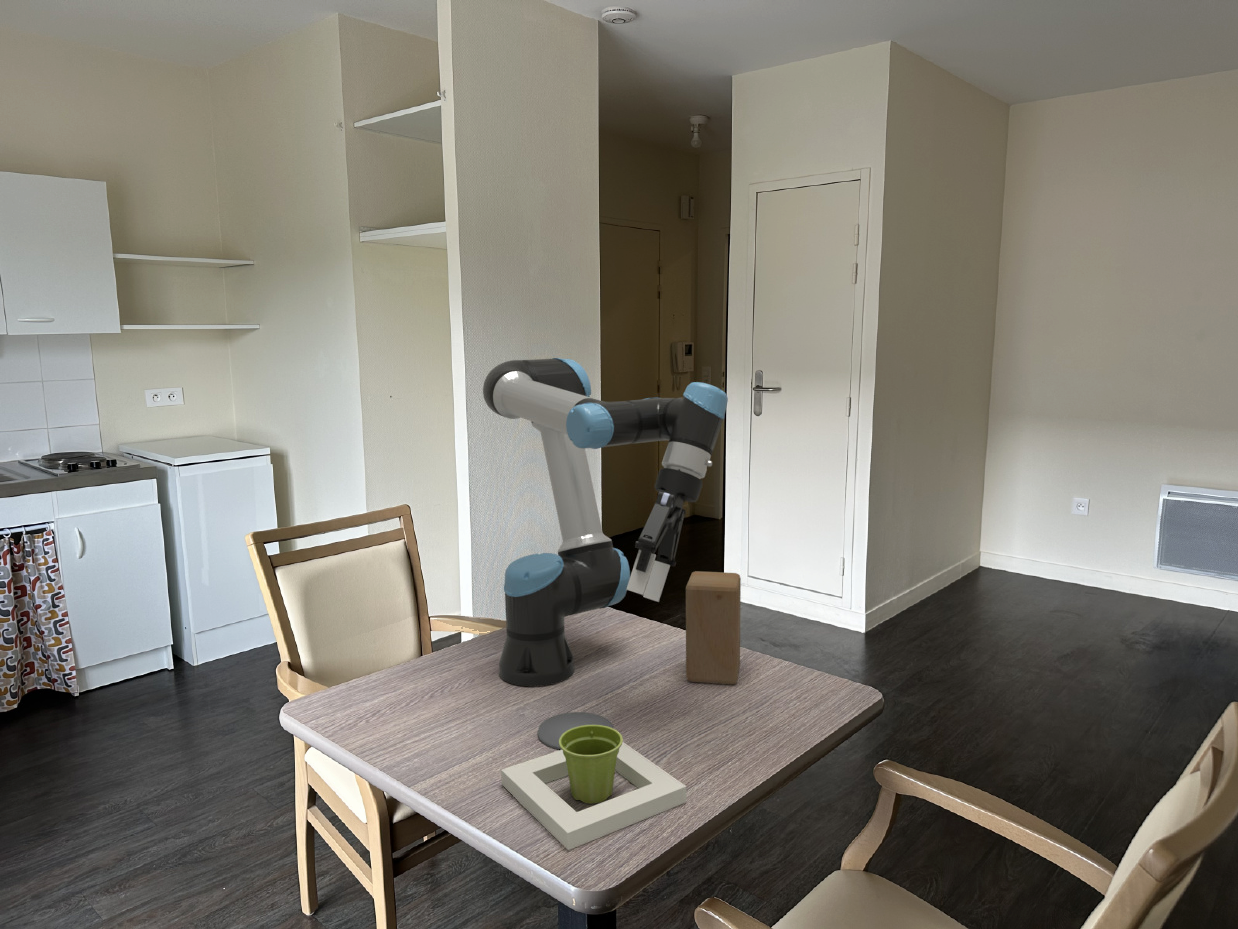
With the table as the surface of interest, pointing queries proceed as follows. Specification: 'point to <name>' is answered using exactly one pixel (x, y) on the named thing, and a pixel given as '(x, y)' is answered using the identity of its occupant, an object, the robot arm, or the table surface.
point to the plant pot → (591, 761)
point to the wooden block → (713, 627)
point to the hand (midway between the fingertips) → (643, 596)
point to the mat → (567, 726)
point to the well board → (602, 818)
